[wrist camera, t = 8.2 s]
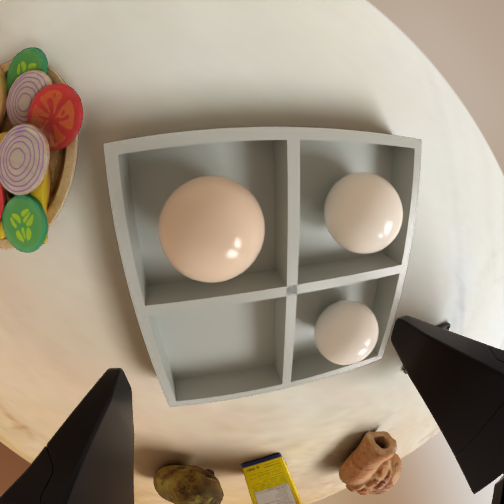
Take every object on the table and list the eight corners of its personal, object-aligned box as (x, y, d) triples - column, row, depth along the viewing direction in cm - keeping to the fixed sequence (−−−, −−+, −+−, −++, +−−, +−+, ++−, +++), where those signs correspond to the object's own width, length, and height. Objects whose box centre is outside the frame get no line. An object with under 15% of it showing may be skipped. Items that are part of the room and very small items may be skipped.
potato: (130, 468, 28) (131, 514, 20) (188, 443, 27) (197, 501, 19) (173, 482, 31) (179, 523, 24) (234, 459, 30) (246, 507, 23)
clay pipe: (314, 462, 45) (371, 464, 45) (316, 503, 35) (378, 500, 35) (362, 413, 39) (422, 417, 39) (374, 463, 29) (438, 457, 29)
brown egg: (248, 166, 16) (279, 179, 11) (251, 251, 18) (279, 293, 13) (155, 175, 15) (145, 192, 10) (167, 262, 17) (166, 310, 12)
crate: (394, 136, 18) (421, 139, 15) (366, 340, 25) (381, 358, 23) (117, 142, 14) (103, 143, 11) (168, 380, 22) (169, 407, 19)
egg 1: (373, 167, 18) (423, 180, 13) (368, 233, 20) (411, 261, 15) (311, 166, 17) (354, 179, 12) (309, 241, 19) (346, 273, 14)
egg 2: (361, 282, 21) (398, 316, 17) (352, 330, 23) (381, 366, 19) (306, 293, 21) (337, 334, 16) (302, 343, 22) (326, 385, 18)
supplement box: (251, 474, 34) (268, 529, 24) (240, 463, 31) (258, 526, 21) (287, 463, 34) (308, 517, 25) (280, 451, 32) (304, 513, 22)
